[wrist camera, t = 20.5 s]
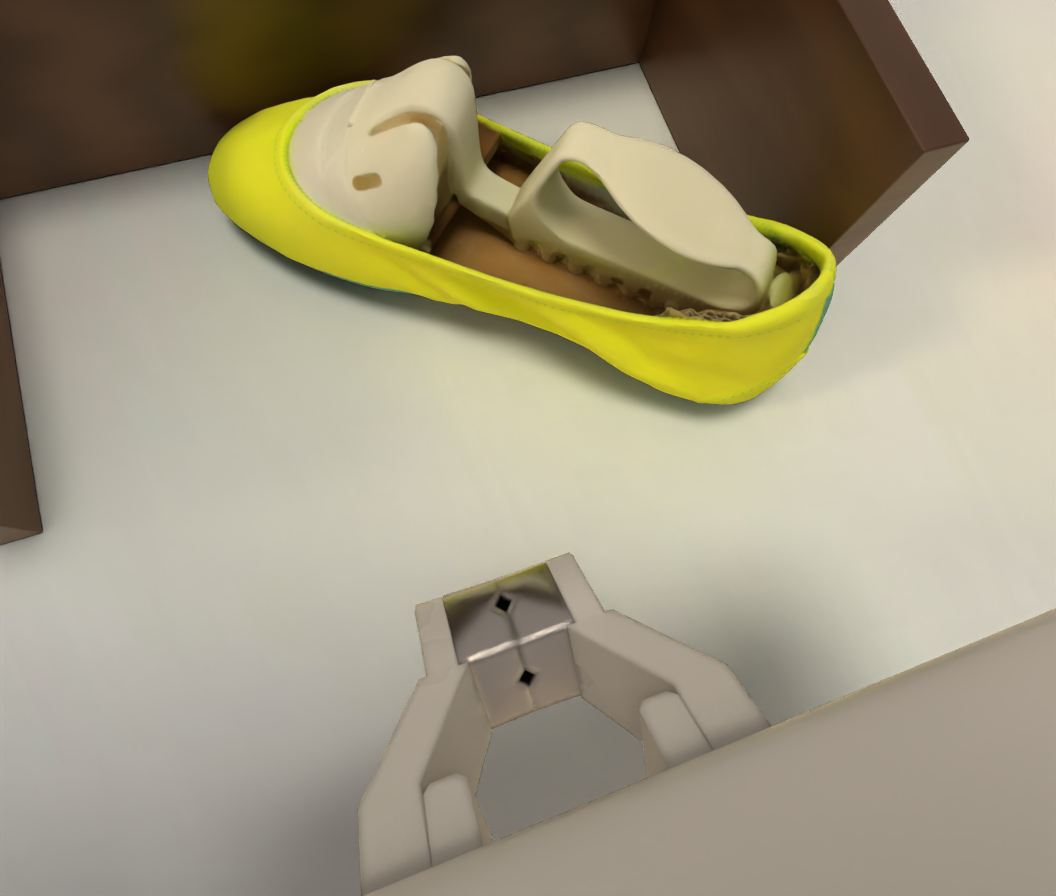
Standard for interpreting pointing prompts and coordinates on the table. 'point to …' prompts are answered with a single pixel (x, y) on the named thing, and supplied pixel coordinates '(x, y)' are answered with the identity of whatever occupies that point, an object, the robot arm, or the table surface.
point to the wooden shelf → (496, 65)
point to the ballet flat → (530, 229)
